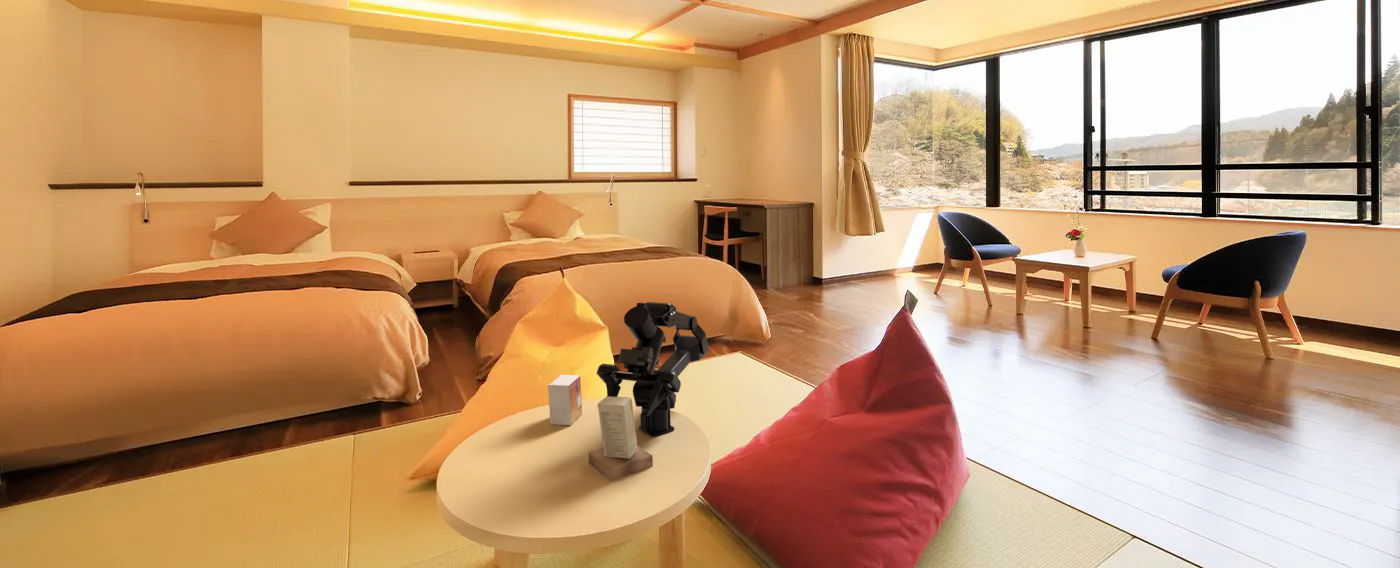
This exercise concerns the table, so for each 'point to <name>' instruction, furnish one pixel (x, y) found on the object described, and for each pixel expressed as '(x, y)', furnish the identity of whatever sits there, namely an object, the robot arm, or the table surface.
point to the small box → (565, 399)
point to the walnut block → (620, 463)
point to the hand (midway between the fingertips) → (627, 412)
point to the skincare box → (617, 427)
